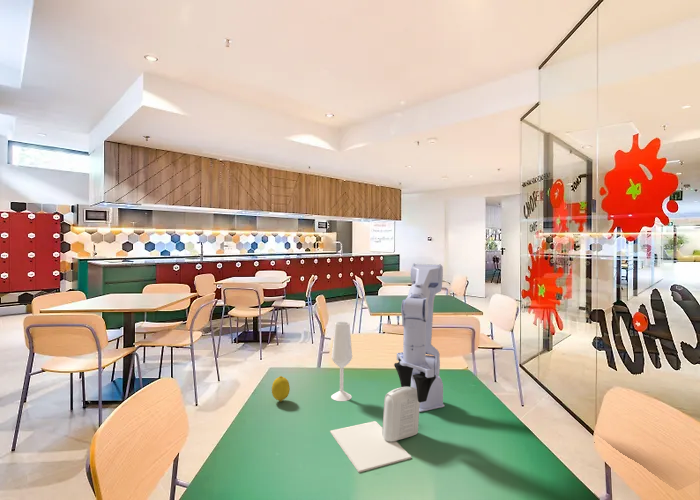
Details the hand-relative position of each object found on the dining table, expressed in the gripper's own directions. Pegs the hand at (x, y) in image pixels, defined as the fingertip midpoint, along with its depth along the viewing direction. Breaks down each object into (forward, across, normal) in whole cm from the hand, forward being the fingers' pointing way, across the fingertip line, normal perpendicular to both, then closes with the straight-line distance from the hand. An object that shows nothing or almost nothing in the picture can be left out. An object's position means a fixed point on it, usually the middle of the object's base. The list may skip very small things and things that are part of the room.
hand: (413, 395), depth 94 cm
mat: (+10, 0, -13) cm, 17 cm away
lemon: (+10, -32, -28) cm, 44 cm away
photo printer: (+10, 0, -4) cm, 11 cm away
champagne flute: (+10, -28, -9) cm, 31 cm away
